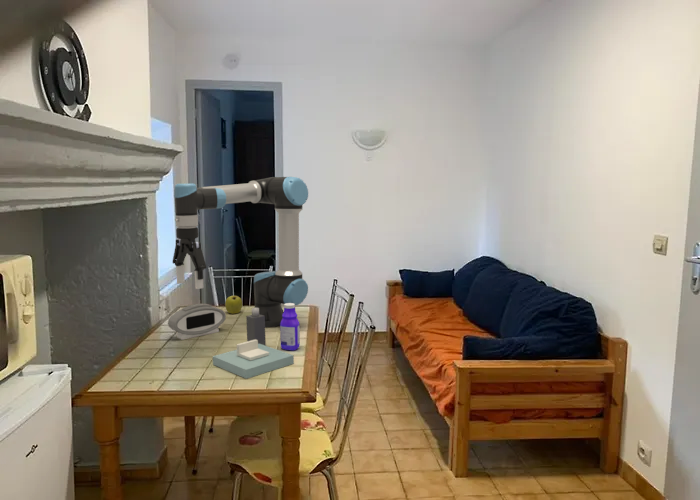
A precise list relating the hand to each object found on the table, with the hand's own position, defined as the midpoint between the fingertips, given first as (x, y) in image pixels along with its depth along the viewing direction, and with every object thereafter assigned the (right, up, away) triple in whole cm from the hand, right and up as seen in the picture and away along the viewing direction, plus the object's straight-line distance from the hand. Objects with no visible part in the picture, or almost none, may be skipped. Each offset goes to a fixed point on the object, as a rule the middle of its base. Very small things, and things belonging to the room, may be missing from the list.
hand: (189, 285), depth 200 cm
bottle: (+35, -25, +11) cm, 44 cm away
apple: (+2, -18, +67) cm, 69 cm away
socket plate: (+24, -27, -6) cm, 36 cm away
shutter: (+24, -24, -6) cm, 34 cm away
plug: (+22, -24, +14) cm, 36 cm away
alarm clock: (-5, -23, +31) cm, 39 cm away
